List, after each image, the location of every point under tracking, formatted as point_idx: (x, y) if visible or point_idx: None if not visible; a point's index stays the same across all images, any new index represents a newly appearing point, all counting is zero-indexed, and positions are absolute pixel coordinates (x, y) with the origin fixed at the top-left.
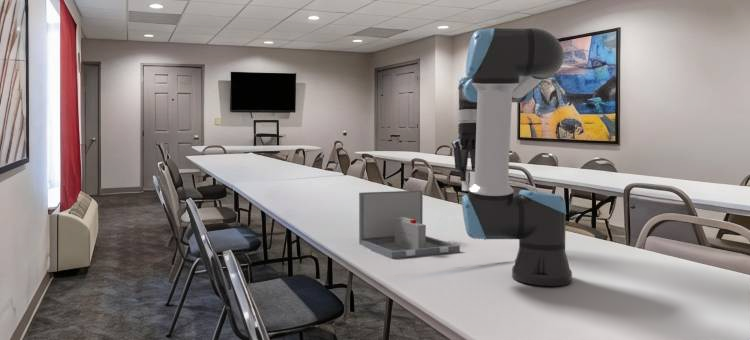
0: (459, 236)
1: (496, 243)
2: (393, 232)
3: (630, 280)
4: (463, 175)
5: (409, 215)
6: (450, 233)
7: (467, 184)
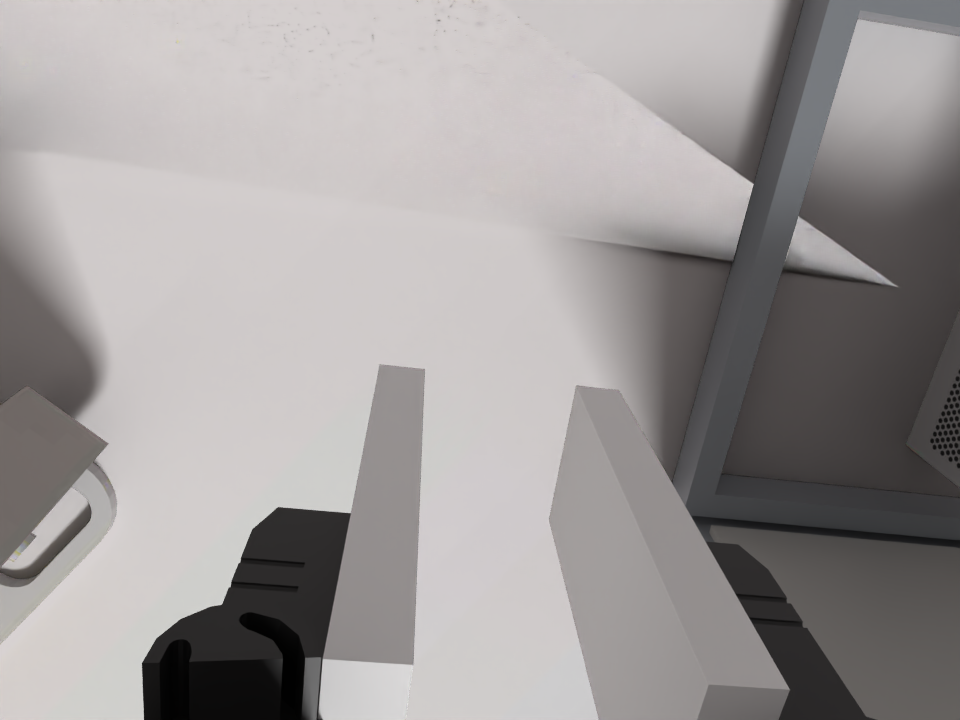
0: (300, 501)
1: (245, 90)
2: (949, 562)
3: None
4: (800, 648)
5: (888, 643)
6: None
7: (629, 449)
